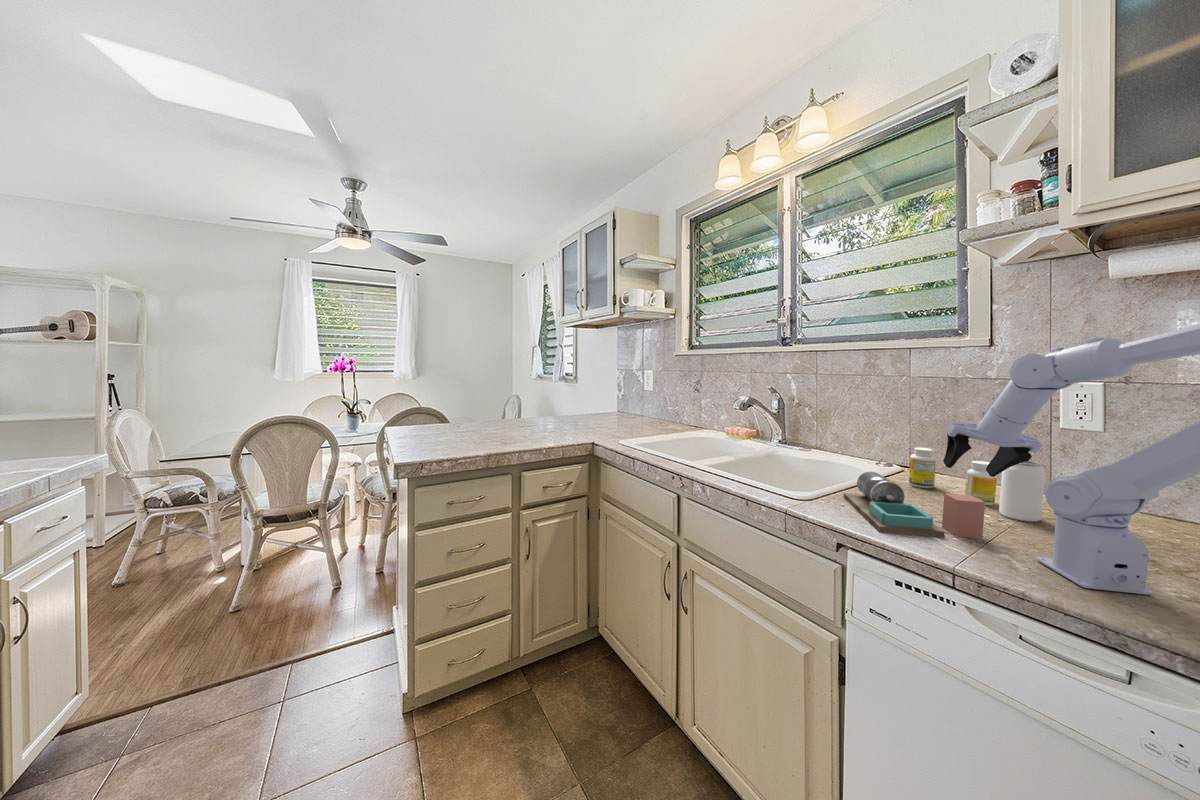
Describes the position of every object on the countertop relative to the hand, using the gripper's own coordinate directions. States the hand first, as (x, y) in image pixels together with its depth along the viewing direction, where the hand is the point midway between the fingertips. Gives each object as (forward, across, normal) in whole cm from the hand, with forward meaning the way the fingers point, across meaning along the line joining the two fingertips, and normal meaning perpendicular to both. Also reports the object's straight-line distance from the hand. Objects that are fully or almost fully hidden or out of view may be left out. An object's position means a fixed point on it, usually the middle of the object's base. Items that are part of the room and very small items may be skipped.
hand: (968, 468), depth 84 cm
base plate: (+15, +9, +2) cm, 18 cm away
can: (+12, -17, -4) cm, 22 cm away
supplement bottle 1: (+24, -9, -22) cm, 34 cm away
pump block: (+9, 0, +9) cm, 13 cm away
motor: (+16, +9, -2) cm, 19 cm away
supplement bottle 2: (+18, -16, -12) cm, 27 cm away
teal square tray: (+12, +10, +7) cm, 17 cm away
